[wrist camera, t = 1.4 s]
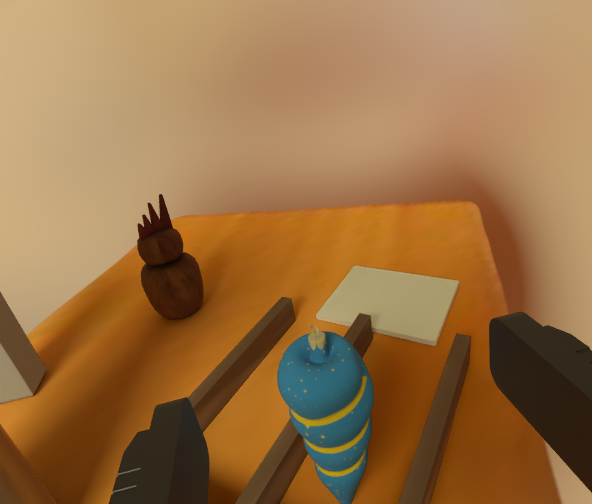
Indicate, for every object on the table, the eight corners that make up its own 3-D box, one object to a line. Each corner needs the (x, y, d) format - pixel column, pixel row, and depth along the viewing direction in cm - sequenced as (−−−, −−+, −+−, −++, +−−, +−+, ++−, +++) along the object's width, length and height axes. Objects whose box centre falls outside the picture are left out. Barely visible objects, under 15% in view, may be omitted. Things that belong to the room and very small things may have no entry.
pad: (316, 319, 46) (315, 314, 46) (355, 269, 54) (354, 265, 54) (435, 346, 39) (435, 341, 39) (459, 285, 47) (459, 280, 47)
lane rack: (131, 498, 31) (117, 473, 29) (286, 318, 47) (282, 296, 46) (385, 663, 21) (381, 637, 19) (469, 361, 37) (470, 336, 36)
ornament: (339, 559, 25) (303, 381, 18) (292, 494, 29) (248, 328, 22) (399, 505, 27) (388, 328, 20) (348, 451, 31) (325, 287, 24)
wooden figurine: (207, 291, 55) (174, 185, 48) (212, 314, 50) (177, 200, 43) (156, 306, 53) (114, 199, 46) (156, 332, 48) (110, 216, 41)
